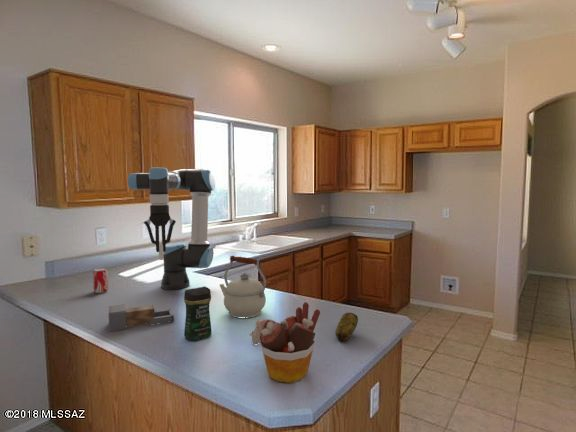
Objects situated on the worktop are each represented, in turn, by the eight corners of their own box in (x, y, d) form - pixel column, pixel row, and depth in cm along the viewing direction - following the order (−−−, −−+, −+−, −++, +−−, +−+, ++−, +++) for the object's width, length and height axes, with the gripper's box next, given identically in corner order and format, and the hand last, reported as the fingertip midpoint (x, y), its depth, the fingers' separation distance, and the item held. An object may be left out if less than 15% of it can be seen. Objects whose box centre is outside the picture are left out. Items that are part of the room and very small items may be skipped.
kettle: (277, 311, 167) (276, 256, 165) (252, 324, 152) (252, 264, 149) (232, 302, 180) (232, 250, 178) (206, 313, 164) (205, 257, 162)
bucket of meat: (285, 398, 100) (285, 325, 98) (245, 376, 112) (244, 311, 110) (330, 370, 115) (331, 307, 113) (291, 353, 126) (291, 295, 124)
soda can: (102, 294, 192) (101, 271, 191) (90, 293, 194) (89, 270, 193) (111, 290, 199) (110, 268, 198) (99, 289, 201) (98, 267, 199)
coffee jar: (190, 343, 134) (189, 292, 132) (181, 336, 140) (180, 287, 138) (215, 337, 140) (214, 288, 138) (205, 330, 146) (204, 283, 144)
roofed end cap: (125, 321, 155) (124, 304, 154) (126, 328, 147) (125, 310, 147) (109, 323, 153) (108, 306, 152) (109, 331, 145) (108, 313, 144)
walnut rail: (153, 319, 158) (153, 305, 158) (154, 322, 154) (154, 308, 154) (117, 324, 152) (116, 310, 152) (117, 328, 148) (116, 313, 148)
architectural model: (248, 344, 134) (248, 324, 133) (261, 338, 140) (260, 318, 139) (256, 347, 132) (256, 326, 131) (268, 340, 138) (268, 320, 137)
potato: (326, 338, 138) (326, 317, 138) (347, 328, 148) (347, 308, 147) (344, 345, 133) (344, 323, 132) (365, 334, 142) (365, 314, 141)
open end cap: (170, 314, 163) (170, 309, 163) (173, 321, 155) (173, 315, 155) (148, 317, 159) (148, 312, 159) (150, 325, 151) (150, 319, 151)
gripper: (174, 203, 165) (175, 256, 167) (142, 204, 159) (144, 259, 161) (176, 204, 158) (178, 259, 160) (143, 205, 152) (145, 262, 155)
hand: (161, 259), depth 161 cm, fingers closed
